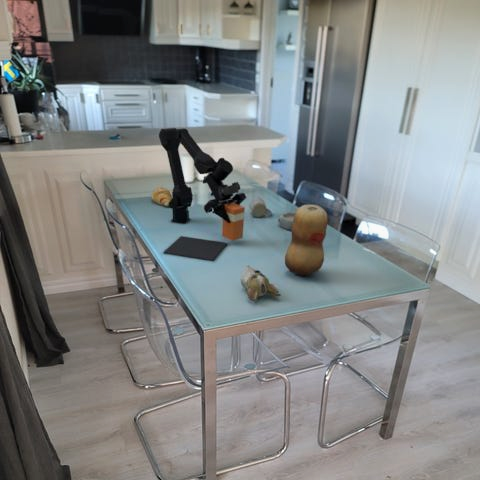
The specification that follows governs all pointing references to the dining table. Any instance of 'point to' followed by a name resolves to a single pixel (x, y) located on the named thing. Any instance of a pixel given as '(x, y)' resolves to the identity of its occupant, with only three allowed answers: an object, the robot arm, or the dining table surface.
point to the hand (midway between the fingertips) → (235, 221)
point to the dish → (286, 220)
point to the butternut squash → (307, 240)
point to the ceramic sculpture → (257, 284)
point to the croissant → (161, 196)
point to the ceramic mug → (259, 207)
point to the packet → (233, 222)
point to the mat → (196, 248)
